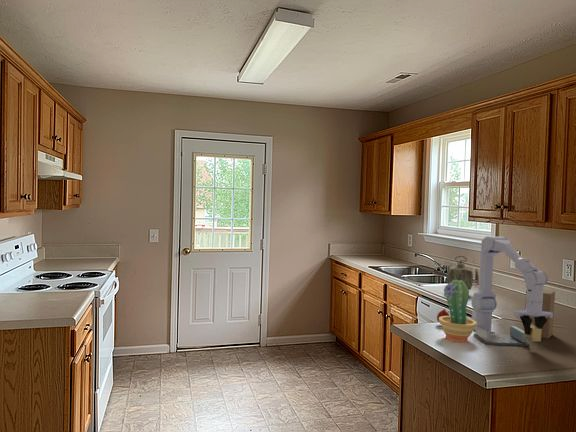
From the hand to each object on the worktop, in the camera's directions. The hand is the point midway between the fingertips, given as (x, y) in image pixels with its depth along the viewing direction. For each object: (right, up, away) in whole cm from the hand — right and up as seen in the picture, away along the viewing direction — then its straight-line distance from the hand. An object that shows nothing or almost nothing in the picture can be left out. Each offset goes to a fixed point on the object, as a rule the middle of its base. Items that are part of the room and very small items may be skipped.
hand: (532, 334), depth 181 cm
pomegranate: (-25, -4, +32) cm, 40 cm away
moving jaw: (0, -5, +11) cm, 12 cm away
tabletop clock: (+12, -3, +108) cm, 109 cm away
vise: (-7, -6, +11) cm, 14 cm away
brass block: (0, -2, 0) cm, 2 cm away
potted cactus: (-26, -5, +11) cm, 29 cm away
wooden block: (+15, -6, +23) cm, 29 cm away
